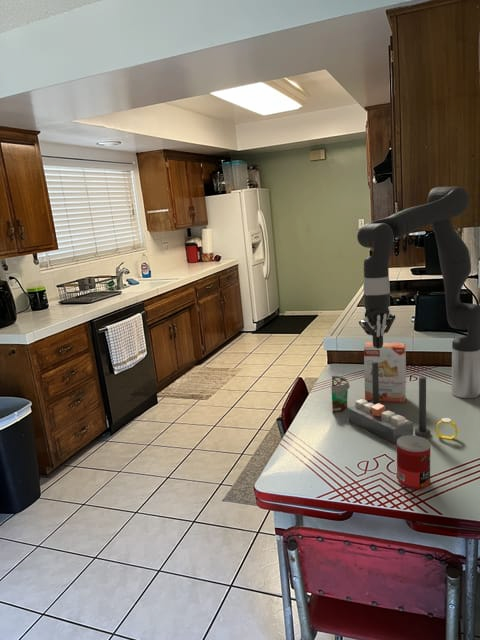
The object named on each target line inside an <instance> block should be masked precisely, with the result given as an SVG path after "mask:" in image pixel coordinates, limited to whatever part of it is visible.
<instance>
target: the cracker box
mask: <svg viewBox="0 0 480 640" xmlns="http://www.w3.org/2000/svg"><path fill="white" fill-rule="evenodd" d="M406 347H407V345H406V343H405V342H404V343H403V342H402V343H401V342H383V346H382V348H378V349H377V348H374V346H373V341H372V342H371V341H366V342H365V343H364V346H363V355H364V356H363V358H364V359H363V361H364V362H363V364H364V365H363V366H364V373H363V374H364V400H366V401H371V402H373V386H372V362H378V379H379V402H388V403H400V404H401V403H402V404H405V402H406V396H407V395H406V393H407V384H406V383H407V382H406V381H407V375H406V374H407V372H406V371H407V366H406V365H407V362H406V361H407V359H406V358H407V357H406V356H407V355H406V352H407V351H406V349H407V348H406Z"/></svg>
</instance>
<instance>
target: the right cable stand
mask: <svg viewBox="0 0 480 640" xmlns="http://www.w3.org/2000/svg"><path fill="white" fill-rule="evenodd" d="M414 436H419V437H422V438H429V437H430V436H431V430H430V429H429V428H428V427H427V378H426V377H425V376H424V377H423V376H422V377H421V376H419V378H418V427H416V428H415V429H414Z"/></svg>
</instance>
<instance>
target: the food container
mask: <svg viewBox="0 0 480 640" xmlns="http://www.w3.org/2000/svg"><path fill="white" fill-rule="evenodd" d="M350 386H351V385H350V383H349V380H348V379H347V378H346V377H343V376H339V375H331V386H330V388H331V405H332V413H333V414H336V413H341V412H345V411H346V410H348V396H349V395H348V392H349V391H348V390H349V389H350Z"/></svg>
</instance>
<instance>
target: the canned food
mask: <svg viewBox="0 0 480 640" xmlns="http://www.w3.org/2000/svg"><path fill="white" fill-rule="evenodd" d="M396 470H397V471H396V476H397V477H396V478H397V481H398V483H399V484H400V485H401V486H403V487H405V488H407V489H410V490H417V491H418V490H424V489H426V488H428V487H429V486H430V483H431V443H430V441H429V440H428V439H426V437H419V436H416V435H413V436H412V435H408V436H402V437H400V438H398V439H397V444H396Z"/></svg>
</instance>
